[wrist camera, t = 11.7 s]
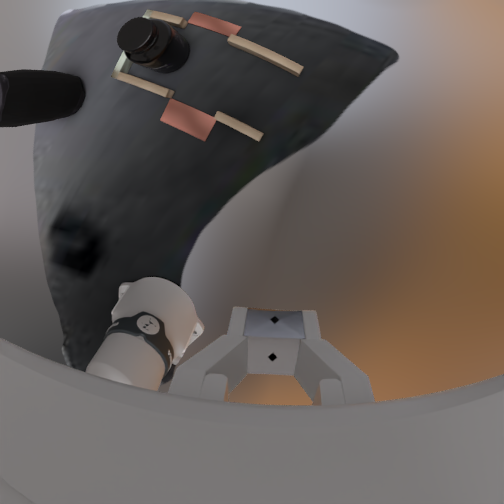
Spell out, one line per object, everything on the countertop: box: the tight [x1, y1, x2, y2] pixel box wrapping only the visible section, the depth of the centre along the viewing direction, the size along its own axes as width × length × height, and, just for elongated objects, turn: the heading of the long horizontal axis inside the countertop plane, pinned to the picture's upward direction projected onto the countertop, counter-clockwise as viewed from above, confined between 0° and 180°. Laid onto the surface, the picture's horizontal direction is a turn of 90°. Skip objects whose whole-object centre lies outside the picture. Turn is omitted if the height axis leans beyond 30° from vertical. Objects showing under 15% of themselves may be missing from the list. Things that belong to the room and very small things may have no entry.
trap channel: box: [111, 10, 303, 141], centre depth 33 cm, size 18×26×2 cm
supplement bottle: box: [117, 17, 189, 73], centre depth 27 cm, size 7×7×12 cm
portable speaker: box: [0, 70, 85, 127], centre depth 27 cm, size 9×9×20 cm
